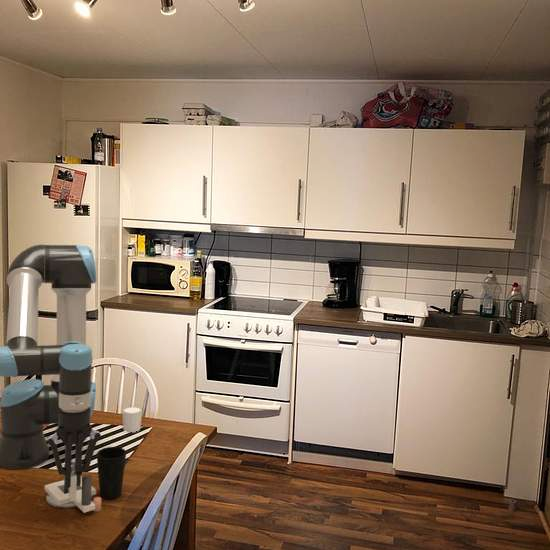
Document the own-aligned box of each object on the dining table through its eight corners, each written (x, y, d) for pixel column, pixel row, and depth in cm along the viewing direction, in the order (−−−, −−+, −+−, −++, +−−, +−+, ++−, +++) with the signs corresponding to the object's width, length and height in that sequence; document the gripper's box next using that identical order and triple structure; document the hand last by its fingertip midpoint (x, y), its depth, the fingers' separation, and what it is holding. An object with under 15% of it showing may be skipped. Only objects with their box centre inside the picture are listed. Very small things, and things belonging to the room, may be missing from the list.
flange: (44, 489, 161) (44, 460, 160) (80, 479, 168) (80, 451, 167) (70, 517, 149) (70, 485, 147) (108, 505, 155) (108, 475, 154)
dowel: (91, 510, 154) (91, 499, 154) (95, 507, 156) (96, 496, 156) (98, 512, 154) (98, 501, 153) (102, 508, 156) (102, 497, 155)
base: (36, 502, 157) (36, 469, 156) (65, 482, 168) (65, 451, 167) (75, 511, 154) (76, 478, 152) (102, 490, 165) (102, 459, 164)
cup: (109, 504, 158) (110, 461, 156) (89, 495, 162) (90, 453, 160) (131, 493, 164) (132, 451, 163) (111, 485, 168) (112, 444, 167)
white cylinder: (146, 428, 209) (146, 409, 208) (131, 434, 203) (132, 415, 202) (132, 423, 212) (132, 404, 211) (117, 429, 206) (117, 410, 205)
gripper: (49, 415, 142) (47, 510, 145) (104, 409, 148) (101, 500, 151) (44, 405, 148) (43, 495, 151) (98, 400, 154) (95, 487, 157)
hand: (72, 498), depth 151 cm, fingers closed
